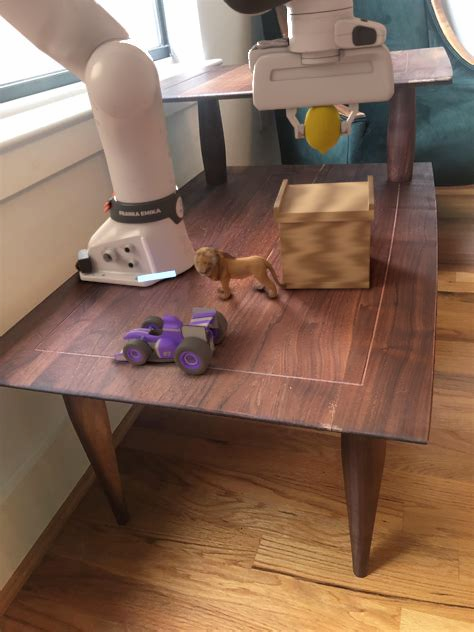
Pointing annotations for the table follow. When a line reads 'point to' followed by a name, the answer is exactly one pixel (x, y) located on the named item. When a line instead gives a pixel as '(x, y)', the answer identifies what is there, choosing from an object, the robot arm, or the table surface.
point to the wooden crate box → (325, 234)
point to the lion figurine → (234, 269)
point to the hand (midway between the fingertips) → (323, 136)
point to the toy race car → (176, 340)
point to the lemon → (322, 127)
